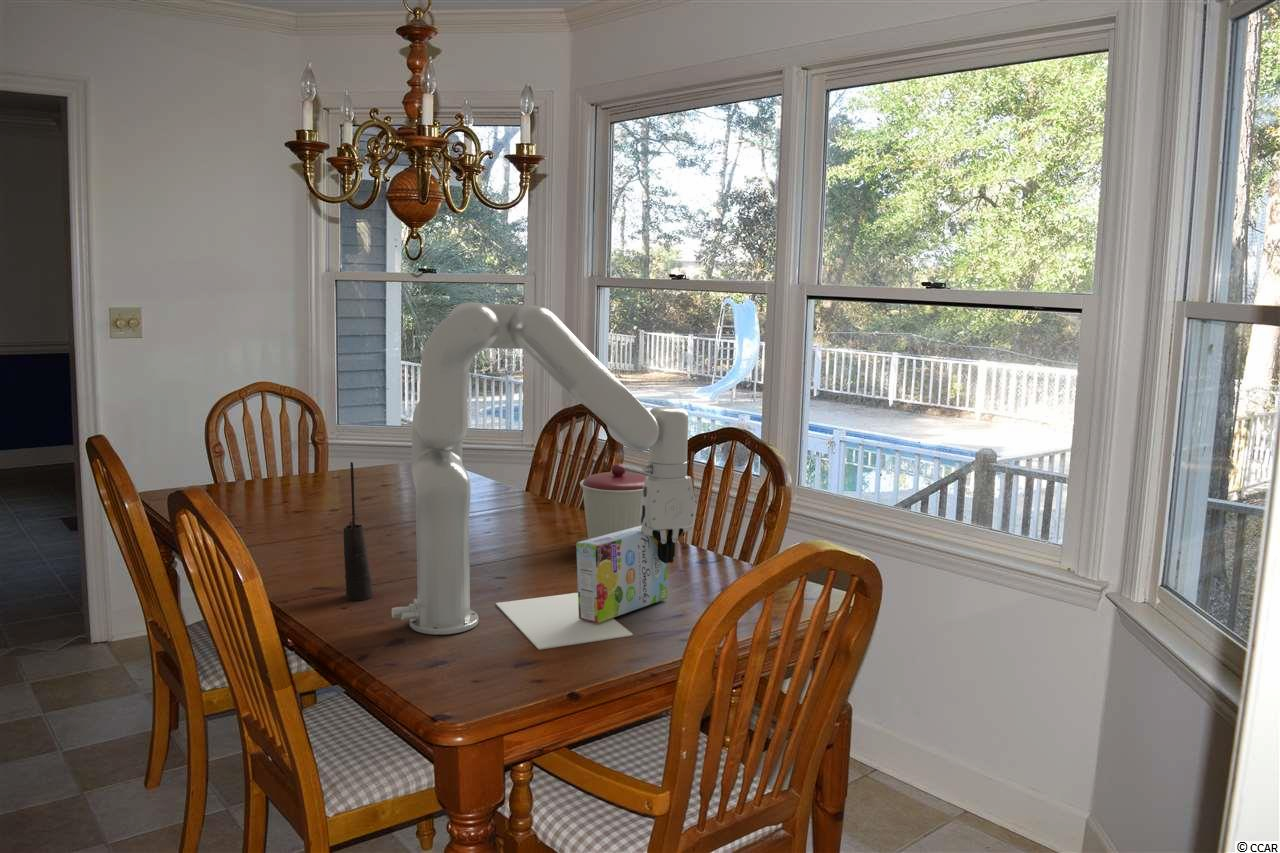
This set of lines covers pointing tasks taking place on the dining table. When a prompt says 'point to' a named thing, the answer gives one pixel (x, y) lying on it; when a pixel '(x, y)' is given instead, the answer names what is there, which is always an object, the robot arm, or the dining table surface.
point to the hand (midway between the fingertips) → (665, 561)
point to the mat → (558, 622)
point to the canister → (612, 501)
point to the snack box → (619, 574)
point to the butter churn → (356, 558)
